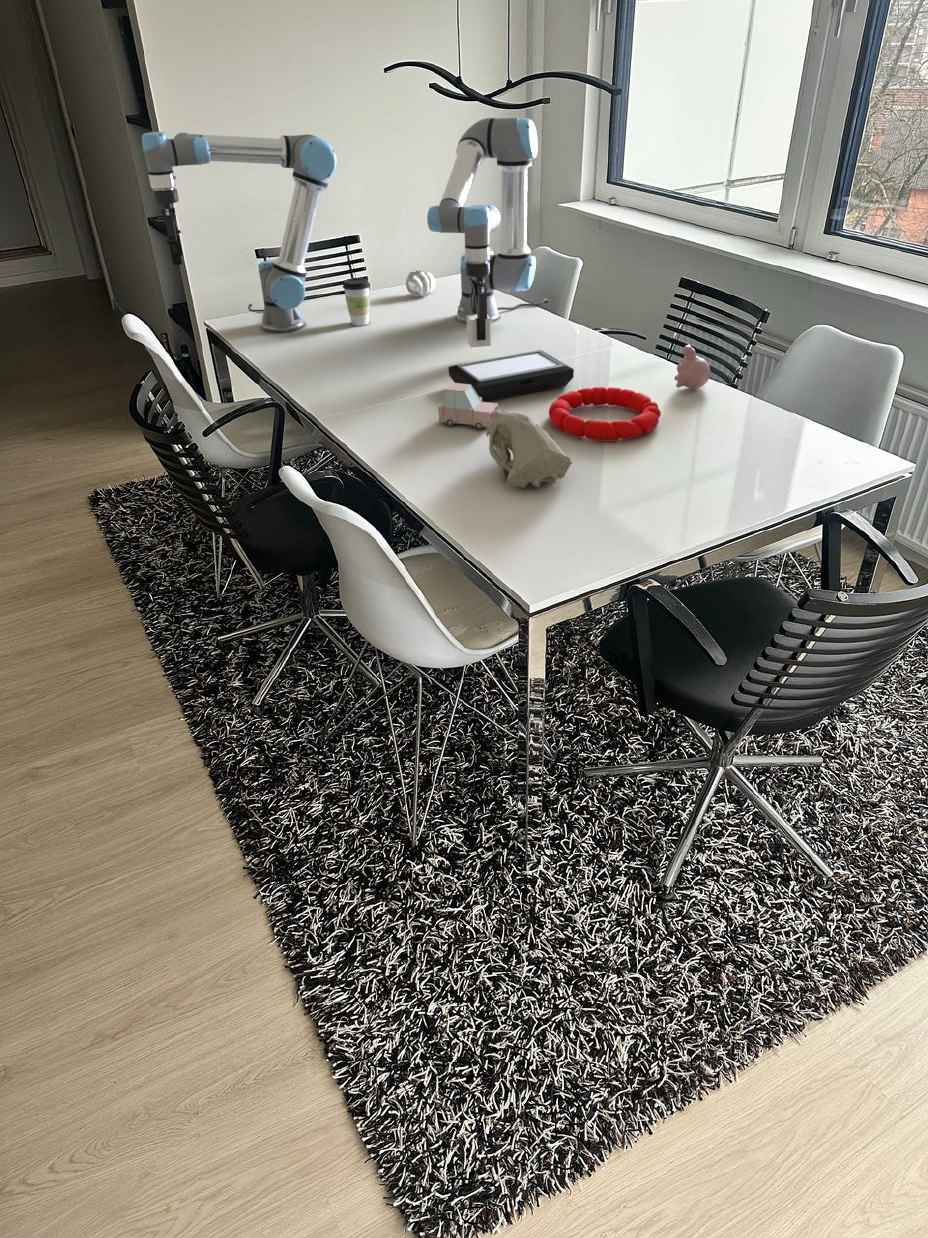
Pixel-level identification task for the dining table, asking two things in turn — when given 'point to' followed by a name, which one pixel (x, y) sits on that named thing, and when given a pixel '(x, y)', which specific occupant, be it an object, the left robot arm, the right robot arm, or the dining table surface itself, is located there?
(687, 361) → the figurine
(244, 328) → the dining table surface
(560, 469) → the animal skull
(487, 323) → the block
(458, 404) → the toy car
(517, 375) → the electronic device
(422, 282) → the seashell
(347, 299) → the coffee cup
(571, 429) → the decorative ring
